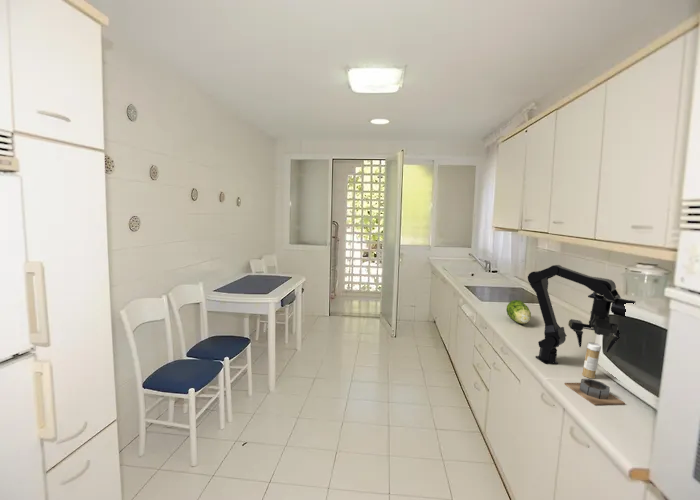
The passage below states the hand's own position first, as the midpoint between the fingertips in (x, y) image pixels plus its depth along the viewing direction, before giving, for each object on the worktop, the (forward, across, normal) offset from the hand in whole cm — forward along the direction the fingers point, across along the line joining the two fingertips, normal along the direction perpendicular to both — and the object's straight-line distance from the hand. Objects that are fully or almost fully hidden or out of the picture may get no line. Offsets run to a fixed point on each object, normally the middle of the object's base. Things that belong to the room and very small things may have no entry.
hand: (593, 349), depth 146 cm
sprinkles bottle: (+11, 0, 0) cm, 11 cm away
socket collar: (+11, -2, -16) cm, 20 cm away
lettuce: (+12, -21, +60) cm, 65 cm away
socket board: (+11, -2, -16) cm, 20 cm away
